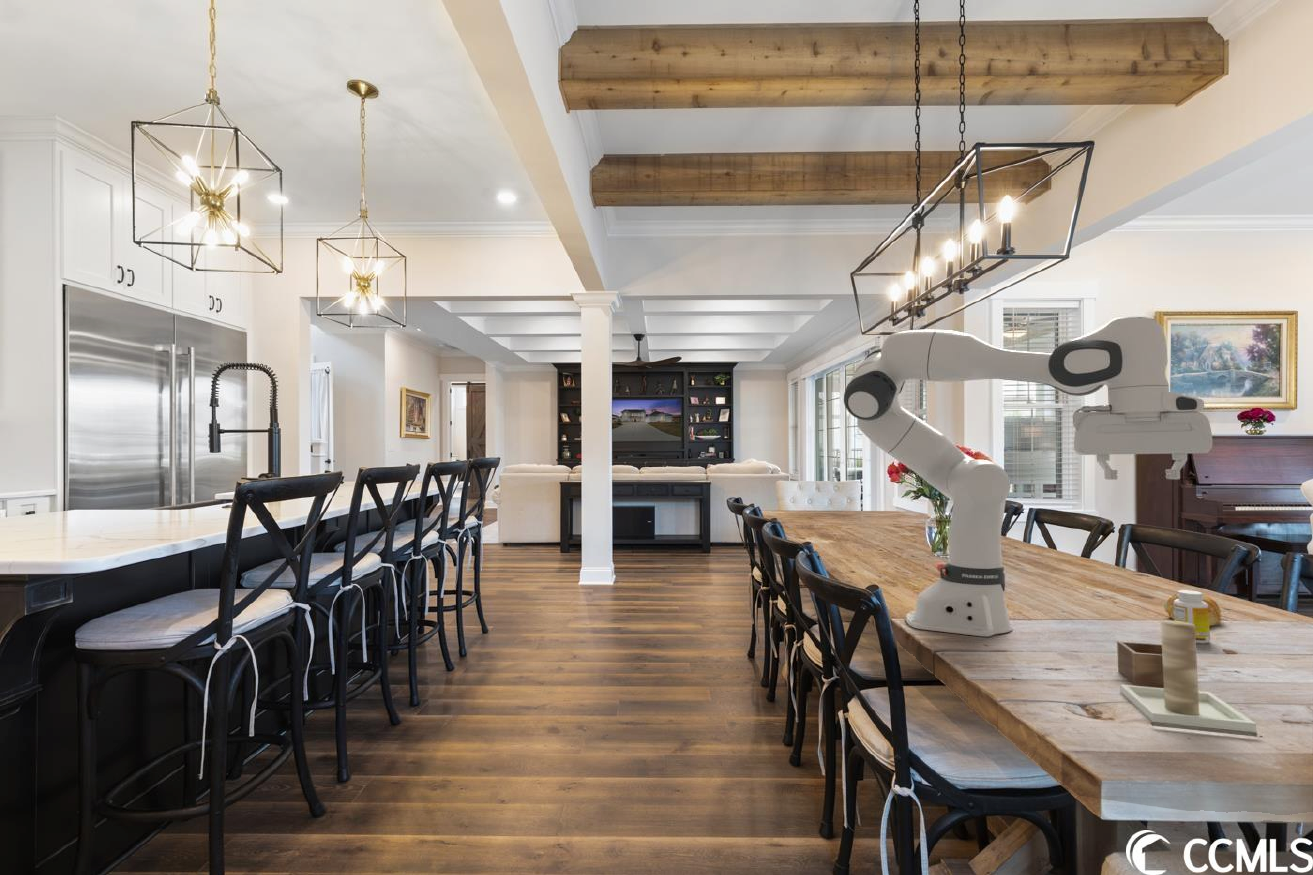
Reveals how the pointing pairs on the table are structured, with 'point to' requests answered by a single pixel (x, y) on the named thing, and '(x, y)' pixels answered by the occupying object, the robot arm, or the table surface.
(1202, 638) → the supplement bottle
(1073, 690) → the table surface
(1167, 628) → the dowel
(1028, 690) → the table surface
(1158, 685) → the open wooden box
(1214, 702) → the tray
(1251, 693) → the table surface
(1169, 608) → the croissant
